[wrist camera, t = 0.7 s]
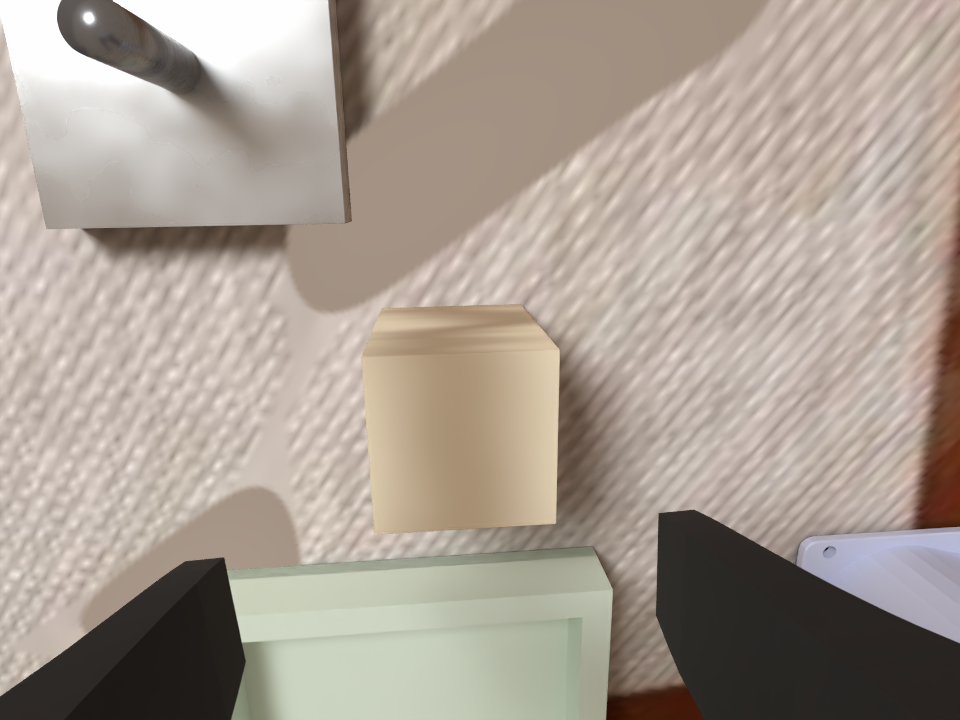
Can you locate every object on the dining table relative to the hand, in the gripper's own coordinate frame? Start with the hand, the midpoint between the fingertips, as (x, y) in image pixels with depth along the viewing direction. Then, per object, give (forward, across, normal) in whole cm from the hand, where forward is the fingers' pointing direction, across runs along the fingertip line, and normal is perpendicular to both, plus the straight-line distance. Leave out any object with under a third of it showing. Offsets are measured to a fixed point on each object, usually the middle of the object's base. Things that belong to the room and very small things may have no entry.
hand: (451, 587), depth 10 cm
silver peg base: (+10, +6, -10) cm, 15 cm away
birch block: (+10, 0, 0) cm, 10 cm away
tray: (+10, +2, +13) cm, 17 cm away
